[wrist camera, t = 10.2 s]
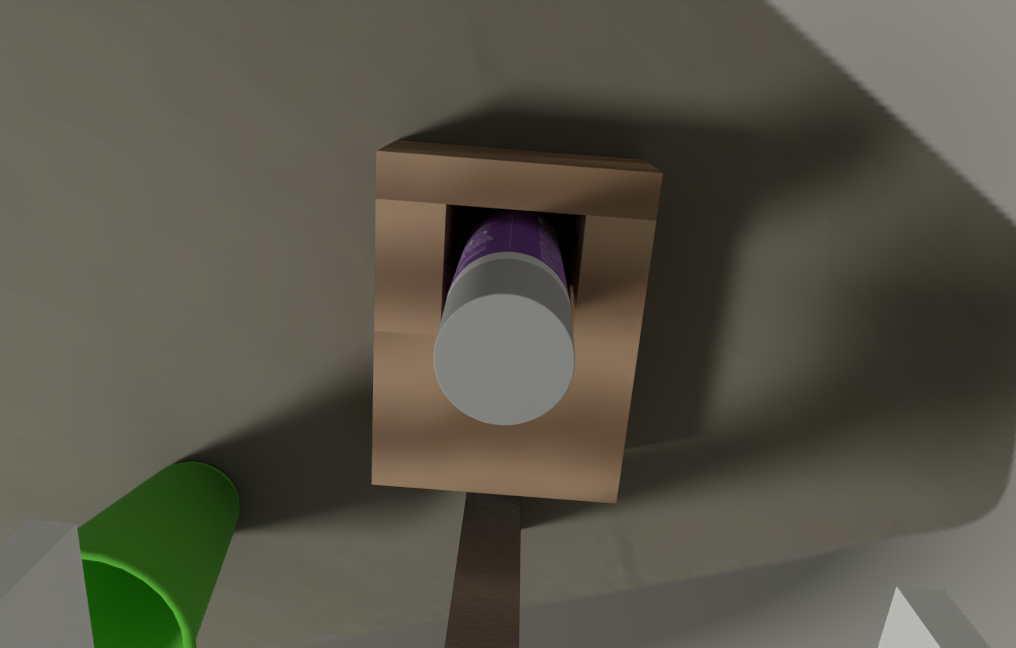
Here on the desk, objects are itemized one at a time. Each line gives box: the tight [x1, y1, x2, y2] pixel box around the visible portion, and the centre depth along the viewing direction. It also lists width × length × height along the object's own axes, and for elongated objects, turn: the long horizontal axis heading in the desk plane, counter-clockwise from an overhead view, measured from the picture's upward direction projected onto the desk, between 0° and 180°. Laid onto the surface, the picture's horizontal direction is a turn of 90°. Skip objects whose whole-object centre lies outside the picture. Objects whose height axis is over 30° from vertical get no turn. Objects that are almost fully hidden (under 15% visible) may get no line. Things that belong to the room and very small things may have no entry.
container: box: [433, 208, 575, 425], centre depth 30 cm, size 5×5×15 cm
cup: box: [77, 462, 240, 648], centre depth 37 cm, size 9×9×11 cm
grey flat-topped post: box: [445, 492, 521, 648], centre depth 31 cm, size 10×10×21 cm
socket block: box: [372, 140, 663, 503], centre depth 36 cm, size 16×12×5 cm
